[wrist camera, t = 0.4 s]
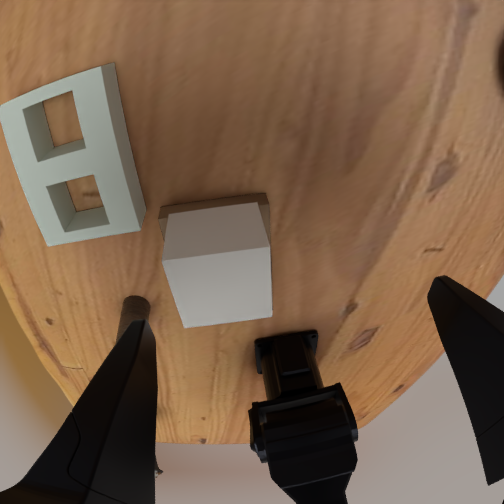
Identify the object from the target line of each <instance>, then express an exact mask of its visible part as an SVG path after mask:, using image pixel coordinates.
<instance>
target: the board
mask: <svg viewBox="0 0 504 504" xmlns="http://www.w3.org/2000/svg"><path fill="white" fill-rule="evenodd" d="M254 202H257V203H258V207H259V210H260V213H261V217H262V220H263V224H264V227H265V231H266V234H267V238H268V241H269V244H270V258H271V233H270V207H269V202H268V199H267V196H266V193H261V194H253V195H244V196H236V197H228V198H221V199H213V200H206V201H199V202H192V203H185V204H178V205H172V206H165V207H161V208H160V213H159V218H158V221H159V224H160V228H161V232H162V235H163V239H164V241H165V235H166V228H167V222H168V216H169V214H173V213H180V212H187V211H194V210H201V209H208V208H215V207H223V206H230V205H238V204H246V203H254ZM271 287H272V262H271ZM272 310H273V295H272Z"/></svg>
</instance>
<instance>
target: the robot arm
mask: <svg viewBox="0 0 504 504" xmlns="http://www.w3.org/2000/svg"><path fill="white" fill-rule="evenodd" d="M427 300H428V304H429V307H430V309H431V312H432V315H433V318H434V321H435V324H436V327H437V330H438V333H439V336H440V339H441V342H442V344H443V347H444V349H445V352H446V354H447V356H448V359H449V361H450V364H451V366H452V369H453V372H454V374H455V377H456V379H457V382H458V385H459V388H460V390H461V393H462V396H463V399H464V402H465V405H466V408H467V411H468V414H469V417H470V420H471V423H472V427H473V430H474V433H475V437H476V441H477V444H478V448H479V452H480V456H481V459H482V464H483V468H484V472H485V476H486V481H487V484H488V485H491V484H493V483H495V482H497V481H499V480H501V479H503V478H504V312H503V311H501V310H500V309H498V308H497V307H495V306H494V305H492V304H491V303H489V302H488V301H486V300H485V299H483V298H482V297H480V296H478V295H477V294H475V293H474V292H472V291H471V290H469V289H467V288H466V287H464V286H463V285H461V284H459V283H458V282H456V281H454V280H453V279H451V278H449V277H448V276H445V275H443V276H438V277H435V278H434V280H433V282H432V285H431V287H430V290H429V292H428V296H427ZM317 342H318V332H317V331H309V332H303V333H297V334H291V335H285V336H279V337H273V338H266V339H260V340H256V341H255V342H254V345H255V355H256V364H257V372H258V374H263V379H264V385H265V390H266V396H267V401H262V402H252V408H251V409H250V410H248V413H249V420H250V447H251V449H252V450H253V451H255V452H256V453H257V455H258V457H259V458H260V460H261V463H266V462H268V466H269V471H270V475H271V478H272V480H273V481H274V482H275V483H276V484H277V485H278V486H279V487H280V488H281V489H282V490H283V491H284V492H285V493H287V495H289V497H291V498H292V499H293V500H294V501H295V502H296V504H348V503H347V498H346V494H345V490H346V488H347V485H348V482H349V480H350V477H351V475H352V472H354V470H355V467H356V464H357V460H358V459H357V453H356V449H355V444H354V442H355V441H357V440H358V429H357V424H356V420H355V417H354V414H353V411H352V409H351V406H350V404H349V402H348V399H347V397H346V395H345V392H344V390H343V388H342V386H341V383H340V382H339V383H336V384H335V385H332V386H328V387H324V386H323V382H322V379H321V376H320V372H319V369H318V365H317V362H316V359H315V353H316V347H317ZM157 396H158V384H157V362H156V341H155V337H154V334H153V332H152V330H151V327H150V325H149V323H148V321H147V320H146V319H138V320H133V321H132V322H131V323H130V324H129V326H128V327H127V329H126V330H125V332H124V333H123V334H122V336H121V337H120V339H119V340H118V342H117V343H116V344H115V346H114V347H113V349H112V350H111V352H110V353H109V355H108V356H107V358H106V359H105V360H104V362H103V363H102V365H101V366H100V368H99V369H98V371H97V372H96V374H95V375H94V377H93V378H92V380H91V381H90V383H89V384H88V386H87V387H86V389H85V390H84V392H83V394H82V395H81V397H80V398H79V400H78V401H77V403H76V404H75V406H74V408H73V409H72V412H70V414H69V415H68V417H67V418H66V420H65V422H64V423H63V425H62V426H61V428H60V429H59V431H58V433H57V434H56V435H55V437H54V438H53V439H52V441H51V442H50V444H49V445H48V446H47V448H46V449H45V450H44V452H43V453H42V454H41V456H40V457H39V458H38V459H37V461H36V462H35V463H34V465H33V466H32V467H31V469H30V470H29V471H28V473H27V474H26V475H25V476H24V478H23V479H22V480H21V481H20V482H18V483H17V484H16V485H14V486H13V487H11V488H9V489H6V490H4V491H2V492H0V504H155V440H156V415H157ZM502 504H504V500H503V503H502Z"/></svg>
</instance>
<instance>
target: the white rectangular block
mask: <svg viewBox="0 0 504 504" xmlns="http://www.w3.org/2000/svg"><path fill="white" fill-rule="evenodd" d="M162 264H163V267H164V270H165V273H166V276H167V279H168V282H169V285H170V288H171V291H172V294H173V297H174V300H175V303H176V306H177V309H178V311H179V314H180V317H181V320H182V323H183V325H184V328H190V327H198V326H207V325H215V324H223V323H231V322H239V321H246V320H253V319H260V318H267V317H272V287H271V258H270V244H269V241H268V238H267V234H266V231H265V227H264V224H263V220H262V217H261V213H260V210H259V207H258V203H257V202H254V203H246V204H238V205H230V206H223V207H215V208H208V209H201V210H194V211H187V212H180V213H173V214H169V216H168V222H167V228H166V235H165V241H164V248H163V255H162Z"/></svg>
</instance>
